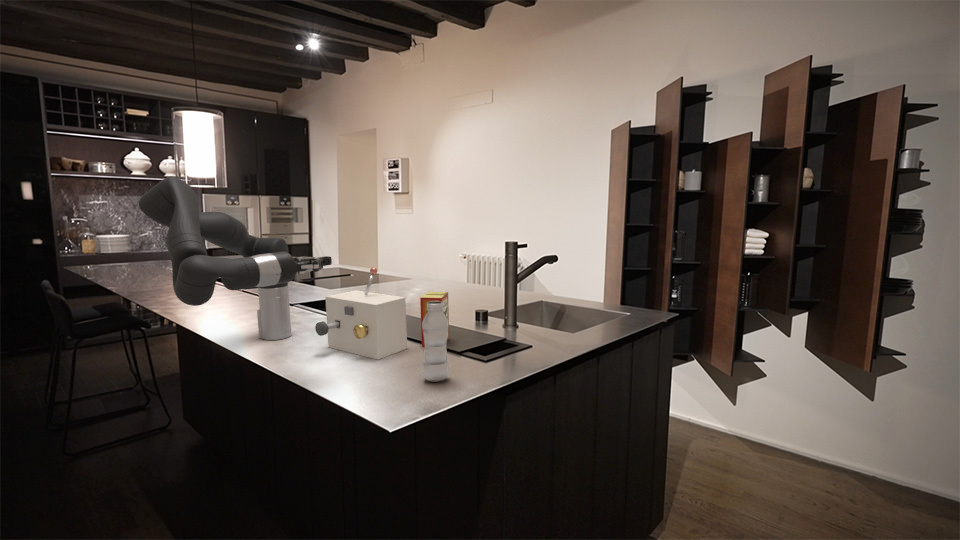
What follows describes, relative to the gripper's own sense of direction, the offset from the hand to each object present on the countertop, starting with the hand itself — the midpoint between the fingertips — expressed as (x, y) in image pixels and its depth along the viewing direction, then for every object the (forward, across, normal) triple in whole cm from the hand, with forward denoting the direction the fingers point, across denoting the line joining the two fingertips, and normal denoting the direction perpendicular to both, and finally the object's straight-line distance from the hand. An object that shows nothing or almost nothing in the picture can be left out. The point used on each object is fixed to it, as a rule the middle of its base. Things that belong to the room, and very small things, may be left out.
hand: (329, 260), depth 127 cm
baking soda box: (+32, +9, -30) cm, 45 cm away
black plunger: (+8, -12, -24) cm, 28 cm away
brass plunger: (+12, 0, -24) cm, 26 cm away
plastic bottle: (+8, +29, -30) cm, 42 cm away
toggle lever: (+17, -6, -14) cm, 23 cm away
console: (+17, -6, -30) cm, 35 cm away
